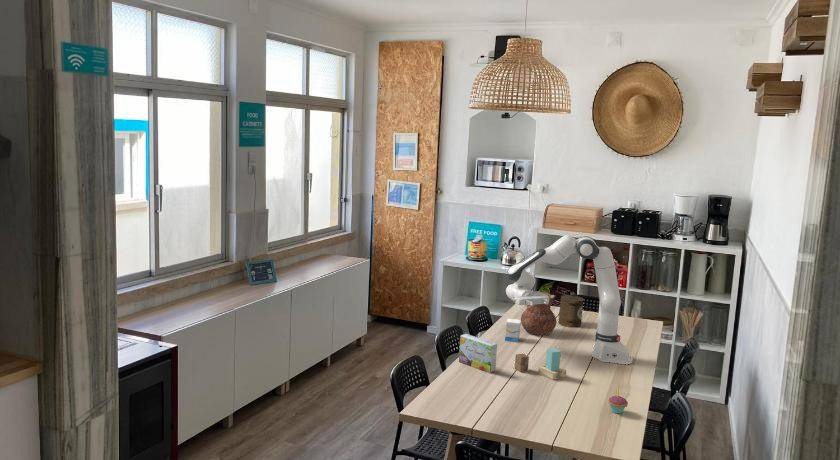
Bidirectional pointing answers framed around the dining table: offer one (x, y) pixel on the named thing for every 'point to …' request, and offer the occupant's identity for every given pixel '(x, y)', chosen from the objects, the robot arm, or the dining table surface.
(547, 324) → the jug
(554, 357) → the teal block
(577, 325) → the wooden container
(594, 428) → the dining table surface
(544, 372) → the oak base block
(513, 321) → the ink box
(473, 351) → the snack box
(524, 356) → the walnut block
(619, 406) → the cupcake
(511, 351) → the dining table surface
